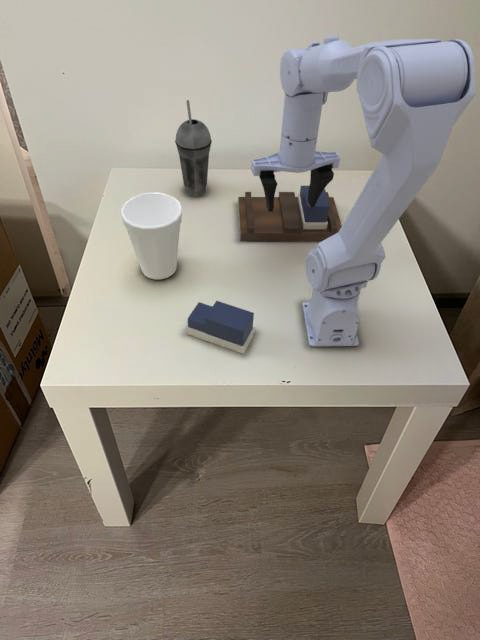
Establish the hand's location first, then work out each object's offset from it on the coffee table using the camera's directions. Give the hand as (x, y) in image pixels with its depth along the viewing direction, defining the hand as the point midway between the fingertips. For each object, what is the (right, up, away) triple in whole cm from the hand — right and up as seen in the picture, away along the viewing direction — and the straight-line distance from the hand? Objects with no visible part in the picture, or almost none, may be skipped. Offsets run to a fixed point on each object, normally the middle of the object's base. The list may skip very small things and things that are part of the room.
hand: (290, 206), depth 86 cm
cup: (-24, -11, +3) cm, 26 cm away
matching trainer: (+5, +1, +12) cm, 13 cm away
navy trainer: (-12, -22, -7) cm, 26 cm away
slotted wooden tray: (+1, 0, +13) cm, 13 cm away
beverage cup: (-19, +8, +20) cm, 28 cm away
